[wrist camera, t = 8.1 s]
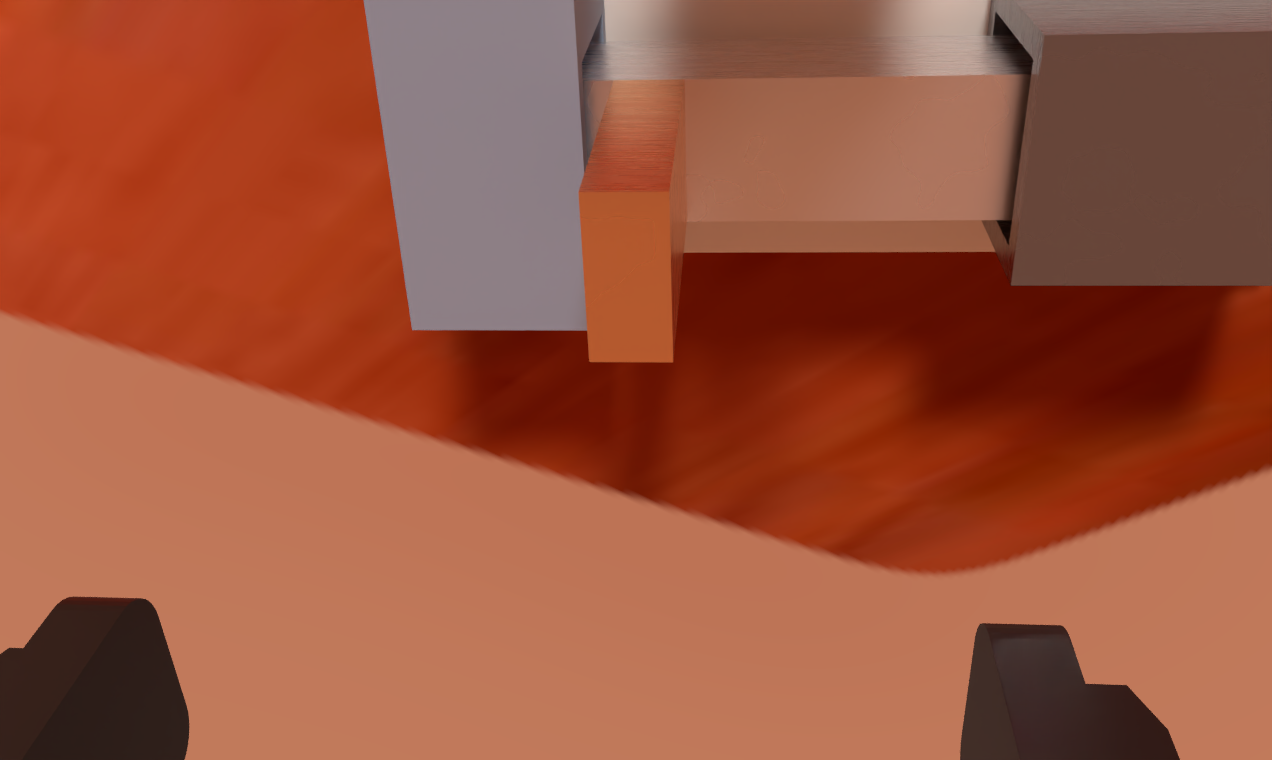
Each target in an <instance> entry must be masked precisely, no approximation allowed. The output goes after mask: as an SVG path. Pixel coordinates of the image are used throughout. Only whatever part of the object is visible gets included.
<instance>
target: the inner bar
mask: <svg viewBox="0 0 1272 760" xmlns="http://www.w3.org/2000/svg"><path fill="white" fill-rule="evenodd" d="M1032 65H1033V58H1032V57H1031V56H1030V55H1029V53H1028V52H1027V51H1026V49H1025V48H1024V47H1023V46H1022V44H1021V43H1020V42H1019V40H1018V39H1017V38H1016V37H1015V35H1014V34H1010V35H952V36H893V37H835V38H776V39H718V40H659V41H601V42H590V43H589V46H588V48H587V51H586V53H585V56H584V58H583V60H582V77H583V94H584V111H585V128H586V145H587V162H588V163H587V166H586V170H585V173H584V176H583V179H582V182H581V185H580V189H579V192H578V194H579V210H580V226H581V241H582V257H583V273H584V288H585V304H586V320H587V335H588V351H589V362H673V359H674V349H675V338H676V328H677V318H678V307H679V297H680V287H681V276H682V266H683V256H684V245H685V235H686V225H687V222H701V221H921V220H1012V217H1013V209H1014V201H1015V194H1016V186H1017V179H1018V171H1019V164H1020V156H1021V148H1022V141H1023V133H1024V126H1025V118H1026V110H1027V103H1028V95H1029V88H1030V80H1031V72H1032Z"/></svg>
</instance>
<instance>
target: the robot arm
mask: <svg viewBox="0 0 1272 760" xmlns="http://www.w3.org/2000/svg"><path fill="white" fill-rule="evenodd" d="M188 739H189V716H188V710H187V706H186V703H185V700H184V696H183V693H182V690H181V687H180V684H179V680H178V677H177V674H176V671H175V668H174V665H173V661H172V658H171V655H170V652H169V649H168V645H167V642H166V639H165V636H164V633H163V629H162V626H161V623H160V620H159V617H158V614H157V612H156V610H155V608H154V607H153V605H152V604H151V603H150V602H149V601H148V600H146V599H141V598H103V597H102V598H101V597H69V598H66V599H64V600H62V601H61V602H60V603H58V604H57V605H56V606H55V608H54V609H53V610H52V611H51V613H50V614H49V615H48V616H47V618H46V619H45V620H44V622H43V623H42V624H41V626H40V627H39V628H38V630H37V631H36V632H35V634H34V635H33V636H32V638H31V639H30V640H29V642H28V643H27V644H26V645H25V647H24V648H9V649H7V650H5V651H4V652H3V653H1V654H0V760H184V759H185V755H186V751H187V746H188ZM960 755H961V756H960V760H1180V759H1179V756H1178V754H1177V751H1176V749H1175V746H1174V744H1173V741H1172V739H1171V736H1170V734H1169V731H1168V729H1167V728H1166V727H1165V726H1164V725H1163V724H1162V723H1161V722H1160V721H1159V720H1158V718H1156V716H1155V715H1154V714H1153V713H1152V712H1151V711H1150V710H1149V709H1148V708H1147V707H1146V706H1145V705H1144V704H1143V702H1142V701H1141V700H1140V699H1139V698H1138V697H1137V696H1136V695H1135V694H1134V693H1133V692H1132V690H1130V688H1129V687H1128V686H1127V685H1103V684H1085V681H1084V678H1083V675H1082V672H1081V669H1080V666H1079V663H1078V660H1077V657H1076V654H1075V651H1074V648H1073V645H1072V642H1071V639H1070V637H1069V634H1068V632H1067V631H1066V629H1065V628H1064V627H1063V626H1060V625H1058V626H1057V625H1024V624H1023V625H1022V624H986V623H983V624H980V625H979V627H978V629H977V632H976V636H975V642H974V650H973V657H972V664H971V672H970V679H969V686H968V694H967V701H966V708H965V715H964V723H963V730H962V738H961V752H960Z"/></svg>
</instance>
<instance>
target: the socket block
mask: <svg viewBox="0 0 1272 760" xmlns="http://www.w3.org/2000/svg"><path fill="white" fill-rule="evenodd" d="M364 6H365V12H366V19H367V26H368V33H369V40H370V46H371V53H372V60H373V67H374V73H375V80H376V87H377V94H378V101H379V107H380V114H381V121H382V128H383V135H384V141H385V148H386V155H387V162H388V169H389V175H390V182H391V189H392V196H393V203H394V209H395V216H396V223H397V230H398V236H399V243H400V250H401V257H402V264H403V270H404V277H405V284H406V291H407V298H408V304H409V311H410V318H411V325H412V330H572V331H587V320H586V304H585V288H584V273H583V257H582V241H581V226H580V210H579V194H578V192H579V189H580V185H581V182H582V179H583V176H584V173H585V170H586V166H587V163H588V162H587V145H586V128H585V111H584V94H583V77H582V60H583V58H584V56H585V53H586V51H587V48H588V46H589V43H590V42H601V41H606V30H605V9H604V0H364Z"/></svg>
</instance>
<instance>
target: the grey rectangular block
mask: <svg viewBox="0 0 1272 760" xmlns="http://www.w3.org/2000/svg"><path fill="white" fill-rule="evenodd" d="M1010 34H1014V35H1015V37H1016V38H1017V39H1018V40H1019V42H1020V43H1021V44H1022V46H1023V47H1024V48H1025V49H1026V51H1027V52H1028V53H1029V55H1030V56H1031V57H1032V58H1033V65H1032V72H1031V80H1030V88H1029V95H1028V103H1027V110H1026V118H1025V126H1024V133H1023V141H1022V148H1021V156H1020V164H1019V171H1018V179H1017V186H1016V194H1015V201H1014V209H1013V217H1012V220H981V221H982V223H983V225H984V227H985V230H986V232H987V234H988V236H989V238H990V241H991V243H992V245H993V247H994V249H995V252H996V254H997V256H998V258H999V261H1000V263H1001V265H1002V267H1003V269H1004V272H1005V274H1006V276H1007V278H1008V280H1009V283H1010V285H1011V286H1272V0H991V5H990V14H989V23H988V32H987V35H1010Z"/></svg>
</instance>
